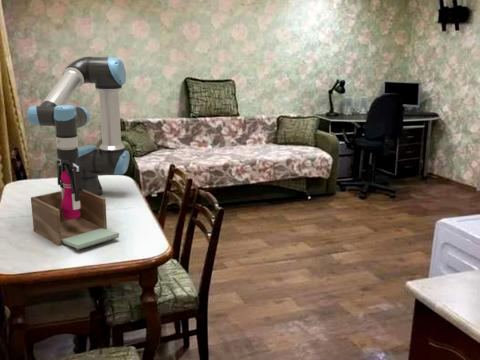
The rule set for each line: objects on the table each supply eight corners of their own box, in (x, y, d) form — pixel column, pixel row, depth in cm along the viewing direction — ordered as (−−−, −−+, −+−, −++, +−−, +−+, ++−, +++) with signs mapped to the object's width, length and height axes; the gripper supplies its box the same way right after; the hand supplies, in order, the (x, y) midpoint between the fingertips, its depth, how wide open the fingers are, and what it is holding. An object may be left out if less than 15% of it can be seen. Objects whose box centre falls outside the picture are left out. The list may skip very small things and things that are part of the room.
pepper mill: (58, 216, 187) (54, 165, 182) (75, 212, 193) (72, 162, 187) (67, 221, 183) (64, 169, 177) (85, 216, 188) (82, 166, 182)
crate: (80, 218, 204) (78, 187, 201) (107, 231, 191) (105, 198, 188) (33, 230, 190) (30, 197, 187) (58, 245, 177) (56, 210, 174)
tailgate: (101, 228, 191) (118, 232, 183) (102, 232, 191) (119, 237, 183) (61, 239, 179) (77, 245, 171) (61, 244, 179) (78, 250, 171)
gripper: (44, 144, 184) (49, 202, 190) (71, 153, 171) (75, 215, 177) (63, 142, 189) (67, 198, 196) (91, 150, 176) (94, 210, 183)
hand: (71, 206), depth 187 cm, fingers closed on pepper mill, 7 cm apart
